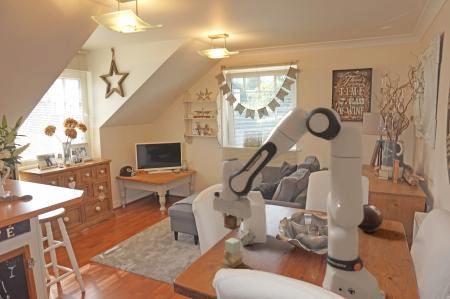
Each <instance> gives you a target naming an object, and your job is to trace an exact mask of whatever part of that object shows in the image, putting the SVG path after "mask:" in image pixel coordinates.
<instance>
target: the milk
mask: <svg viewBox="0 0 450 299" xmlns="http://www.w3.org/2000/svg"><path fill="white" fill-rule="evenodd" d="M246 198H248V199H249V201H250V205H251V212H252V216H251V217H250V218H248V219H243V230H242V231H247V230H249V229H250V232H251V233H252V234H253V235H254V236H256V237H254V239H253V242H252V243H256V244H257V243H258V244H261V243H262V244H266V243H267V237H268V236H267V235H268V233H267V232H268V231H267V213H266V201H265V199H264V197H263V194H262V193H261V190H260V191H259V190H257V191H253V190H251V191H250V192H249V193H248V194H247V197H246Z"/></svg>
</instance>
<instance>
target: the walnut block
mask: <svg viewBox="0 0 450 299" xmlns="http://www.w3.org/2000/svg"><path fill="white" fill-rule="evenodd" d="M237 220H238V219H237V217H236V216H232V215H229V214H227V216H225V217H223V223H224V224H223V225H224V226H223V227H224V228H225V229H228V230H231V231H234V230H236V229H239V228H240V227H241V226H240V225H241V224H240V225H239V226H236V225H235V222H236V221H237Z"/></svg>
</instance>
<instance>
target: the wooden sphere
mask: <svg viewBox="0 0 450 299" xmlns="http://www.w3.org/2000/svg"><path fill="white" fill-rule="evenodd" d="M363 211H364V218H363V221H362V222H361V224H360V225H358V226H357V228H359V229H360V230H361V231H364V232H368V233H370V232H371V233H372V232H374V231H376V230H378V229H380V228H381V227H382V225H383V220H384V219H383V218H384V216H383V214H382V212H381V210H380V209H379V208H377V207H376V206H374V205H372V204H363Z"/></svg>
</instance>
